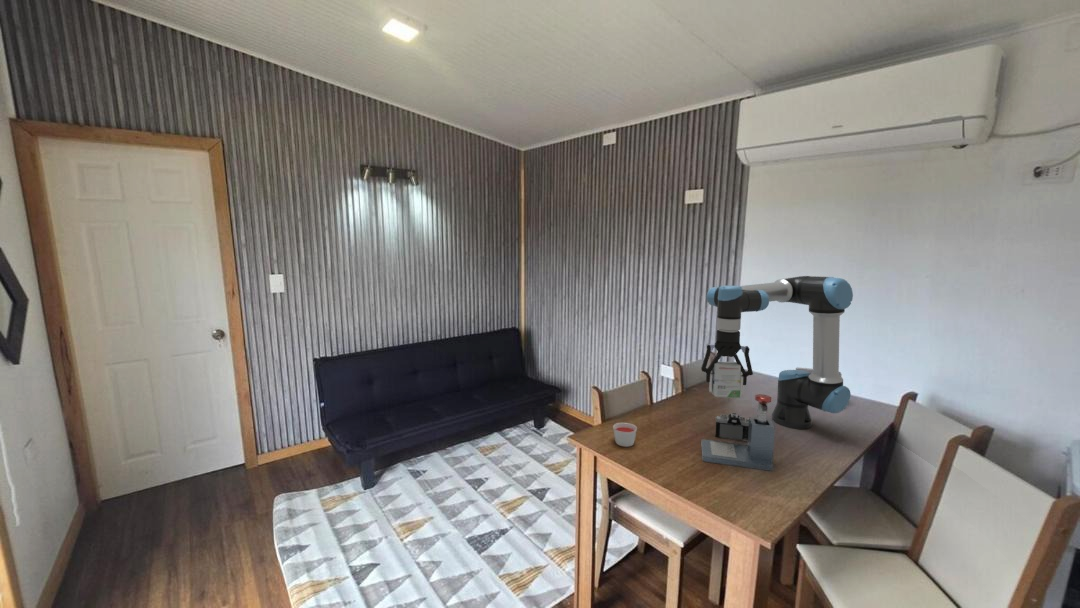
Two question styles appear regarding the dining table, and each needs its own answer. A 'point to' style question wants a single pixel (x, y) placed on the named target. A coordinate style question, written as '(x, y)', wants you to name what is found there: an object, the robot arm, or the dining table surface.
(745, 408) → the dining table surface
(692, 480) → the dining table surface
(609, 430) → the dining table surface
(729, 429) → the camera
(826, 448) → the dining table surface
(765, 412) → the plunger
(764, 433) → the press
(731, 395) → the ink box
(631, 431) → the candle
